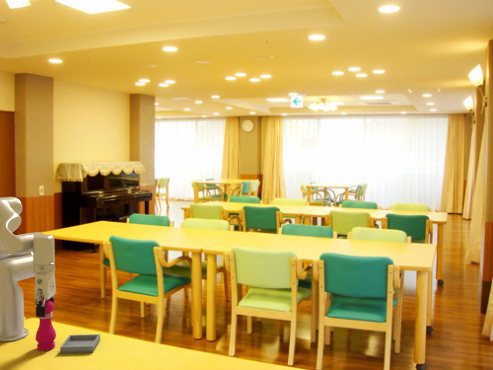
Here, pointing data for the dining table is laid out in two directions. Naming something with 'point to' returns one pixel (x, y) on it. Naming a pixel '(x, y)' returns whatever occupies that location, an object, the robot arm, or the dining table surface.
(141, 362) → the dining table surface
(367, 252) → the dining table surface
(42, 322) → the pepper mill
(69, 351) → the tray
